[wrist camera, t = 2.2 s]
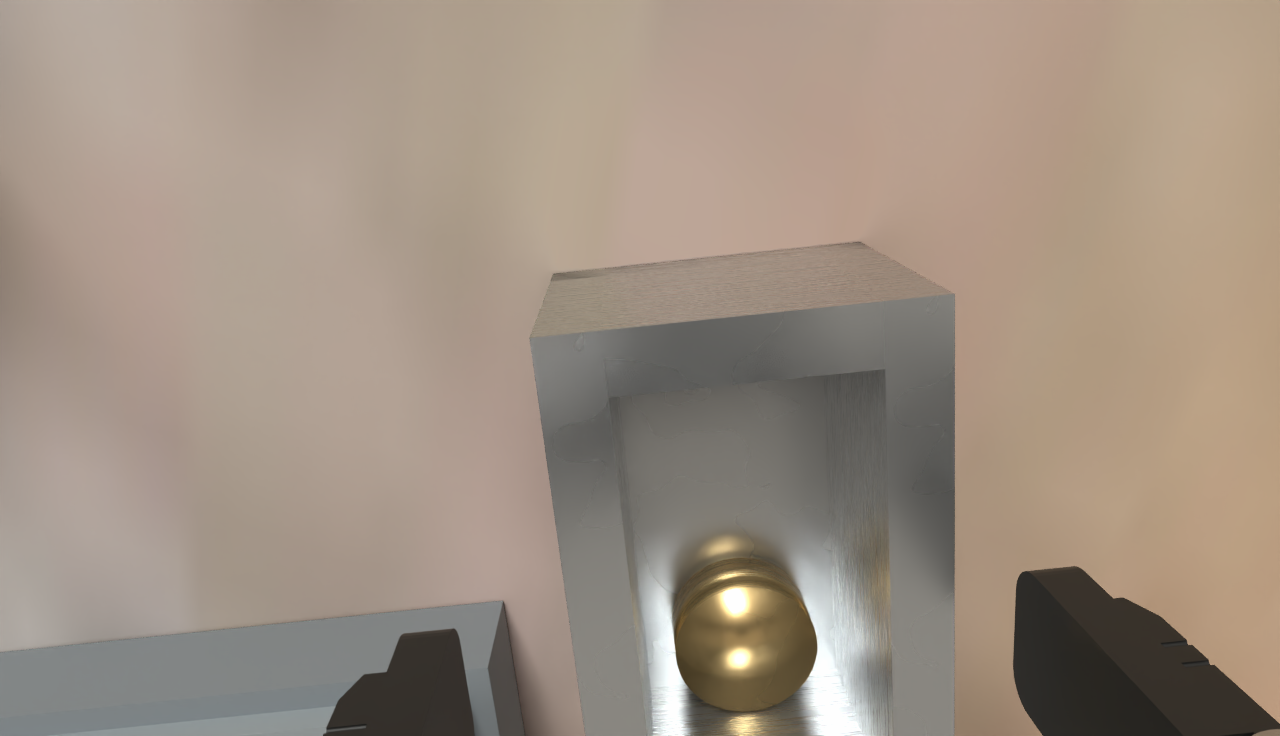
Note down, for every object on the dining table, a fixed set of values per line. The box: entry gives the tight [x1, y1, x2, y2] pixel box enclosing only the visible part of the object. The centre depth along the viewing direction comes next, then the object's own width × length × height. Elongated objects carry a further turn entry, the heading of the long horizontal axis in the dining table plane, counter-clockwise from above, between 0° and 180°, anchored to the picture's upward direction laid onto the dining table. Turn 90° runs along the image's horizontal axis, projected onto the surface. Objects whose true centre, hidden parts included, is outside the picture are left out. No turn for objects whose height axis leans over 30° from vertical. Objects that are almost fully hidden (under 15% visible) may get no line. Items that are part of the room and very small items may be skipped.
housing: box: [530, 242, 955, 736], centre depth 16 cm, size 6×10×5 cm, turn 6°
